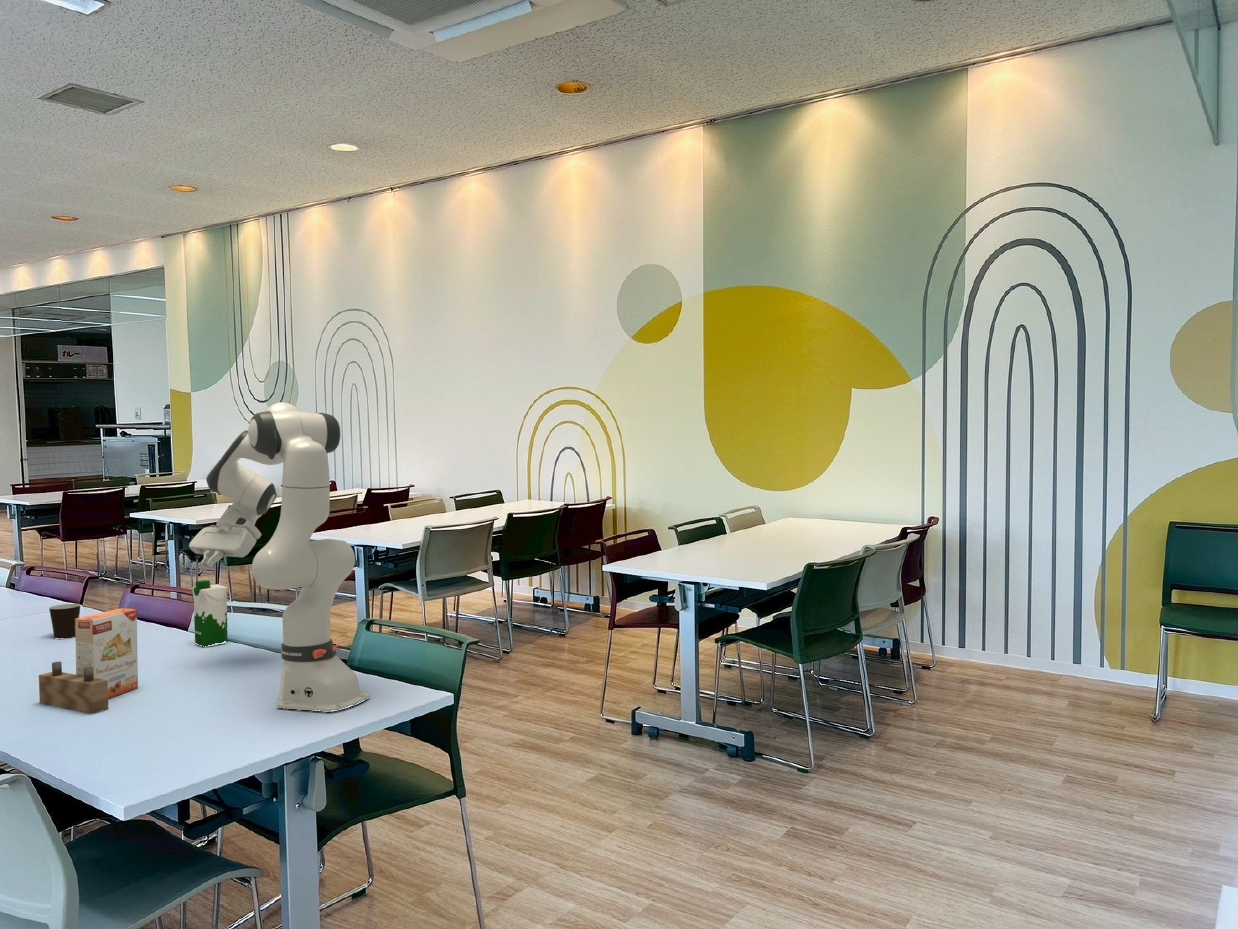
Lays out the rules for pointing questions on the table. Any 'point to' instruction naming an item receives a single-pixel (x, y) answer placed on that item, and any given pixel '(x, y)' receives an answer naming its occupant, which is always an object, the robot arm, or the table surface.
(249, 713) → the table surface
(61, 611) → the coffee mug
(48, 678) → the walnut bar
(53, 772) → the table surface
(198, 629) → the milk carton
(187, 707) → the table surface
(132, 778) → the table surface
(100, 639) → the cracker box
